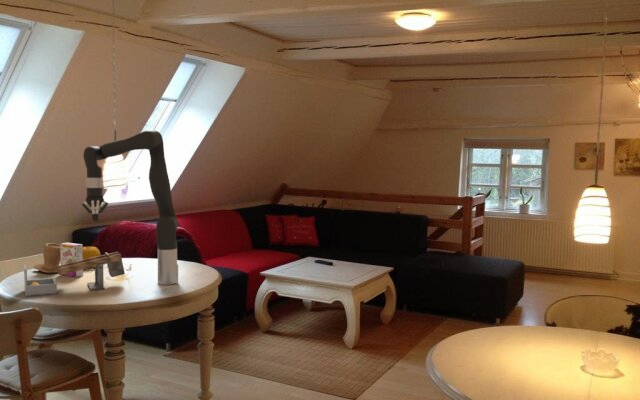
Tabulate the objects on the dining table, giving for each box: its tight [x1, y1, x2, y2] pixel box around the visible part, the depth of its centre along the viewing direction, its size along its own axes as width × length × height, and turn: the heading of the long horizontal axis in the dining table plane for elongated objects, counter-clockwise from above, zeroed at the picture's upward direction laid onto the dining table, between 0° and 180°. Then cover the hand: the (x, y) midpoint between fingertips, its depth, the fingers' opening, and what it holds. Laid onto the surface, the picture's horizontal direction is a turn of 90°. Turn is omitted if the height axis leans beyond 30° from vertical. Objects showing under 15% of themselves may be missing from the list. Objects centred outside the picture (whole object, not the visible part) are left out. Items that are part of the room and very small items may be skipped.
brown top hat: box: [32, 242, 61, 274], centre depth 307 cm, size 15×12×15 cm
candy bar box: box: [59, 242, 84, 278], centre depth 299 cm, size 11×5×16 cm, turn 65°
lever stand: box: [87, 263, 106, 292], centre depth 276 cm, size 6×13×12 cm, turn 29°
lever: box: [56, 251, 126, 278], centre depth 278 cm, size 28×14×11 cm, turn 119°
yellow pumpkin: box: [83, 246, 101, 269], centre depth 320 cm, size 13×13×11 cm
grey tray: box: [23, 264, 58, 297], centre depth 265 cm, size 13×13×12 cm
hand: (95, 221), depth 292 cm, fingers closed
